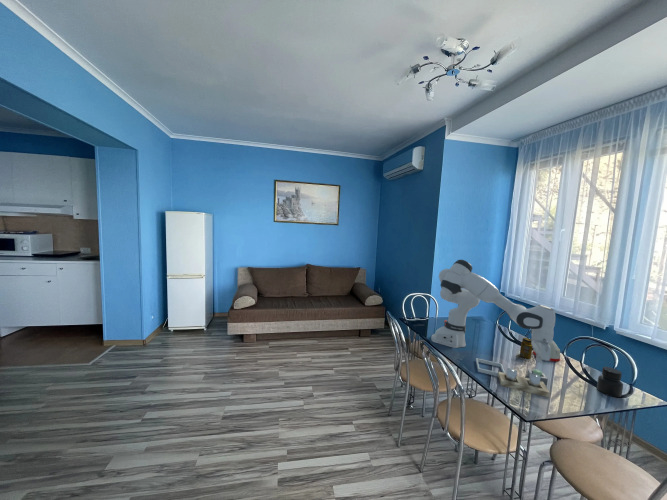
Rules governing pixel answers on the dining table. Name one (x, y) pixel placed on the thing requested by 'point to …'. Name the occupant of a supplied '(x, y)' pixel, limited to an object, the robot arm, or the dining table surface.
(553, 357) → the white red dome
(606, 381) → the ink bottle
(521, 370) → the dining table surface
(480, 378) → the dining table surface
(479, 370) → the white square tray
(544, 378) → the button housing
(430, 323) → the dining table surface
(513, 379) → the silver domed cylinder
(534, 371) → the button
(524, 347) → the condiment
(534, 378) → the grey metal cylinder
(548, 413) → the dining table surface
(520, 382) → the frame
